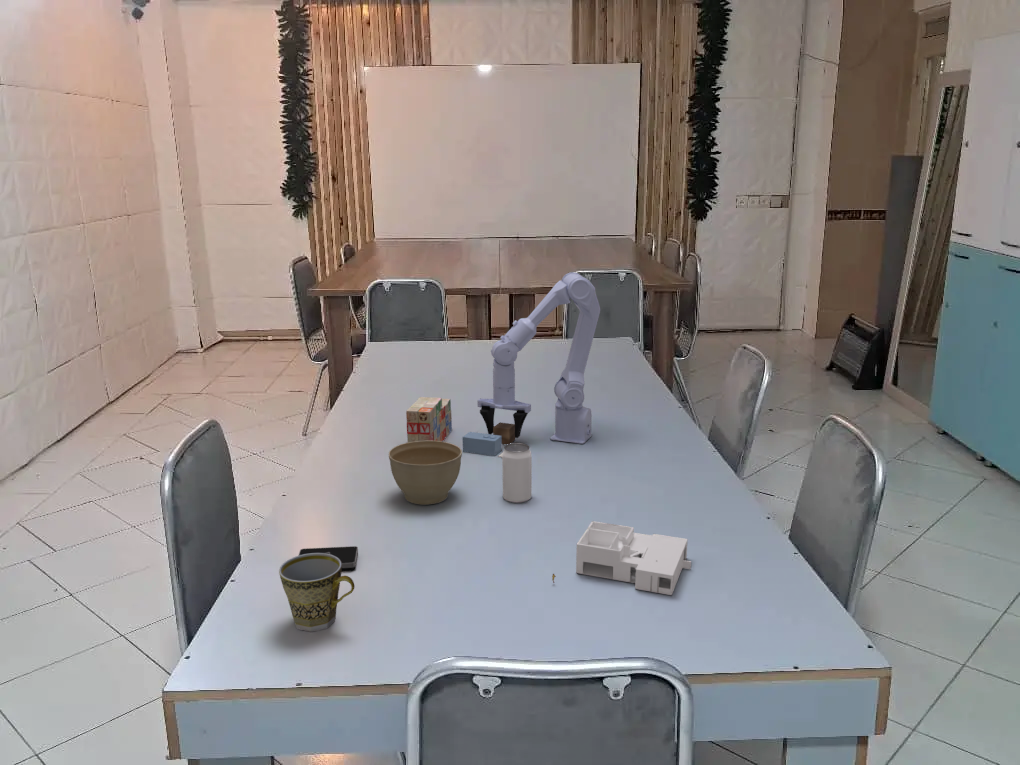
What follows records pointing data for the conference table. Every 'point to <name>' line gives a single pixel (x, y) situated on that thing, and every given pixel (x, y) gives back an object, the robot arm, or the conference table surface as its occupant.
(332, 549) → the external hard drive
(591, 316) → the robot arm
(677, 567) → the house
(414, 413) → the stack of blocks
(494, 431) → the walnut brick
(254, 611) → the conference table surface
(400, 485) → the planter bowl
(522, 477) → the can
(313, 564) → the ceramic cup
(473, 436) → the base brick
